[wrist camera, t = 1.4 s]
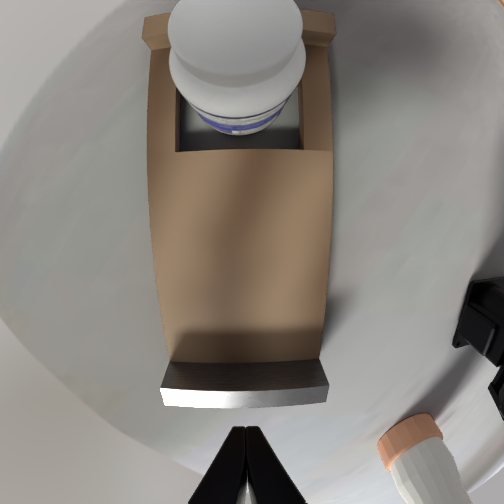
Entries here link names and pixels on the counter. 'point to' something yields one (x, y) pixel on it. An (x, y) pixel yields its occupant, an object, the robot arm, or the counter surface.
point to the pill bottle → (236, 59)
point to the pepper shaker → (421, 463)
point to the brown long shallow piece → (242, 245)
